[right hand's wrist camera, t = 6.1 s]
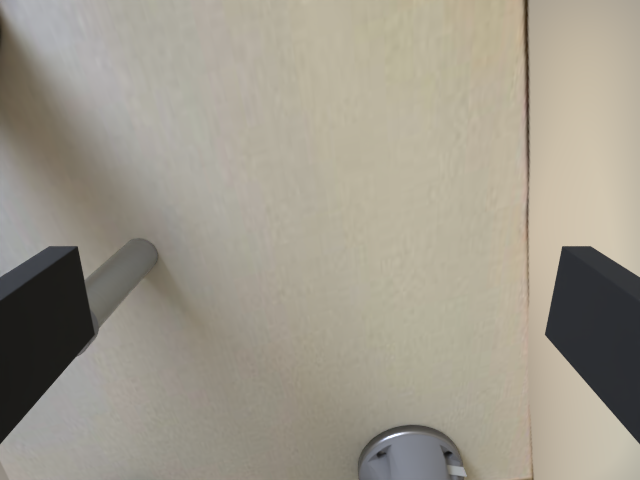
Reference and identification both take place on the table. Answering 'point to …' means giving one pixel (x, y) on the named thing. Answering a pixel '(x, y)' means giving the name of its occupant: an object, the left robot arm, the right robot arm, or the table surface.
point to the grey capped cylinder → (119, 277)
